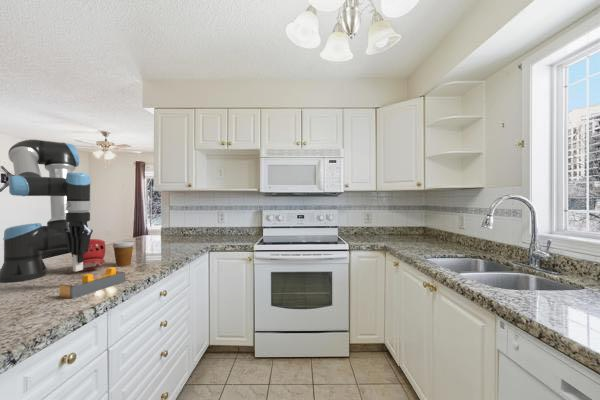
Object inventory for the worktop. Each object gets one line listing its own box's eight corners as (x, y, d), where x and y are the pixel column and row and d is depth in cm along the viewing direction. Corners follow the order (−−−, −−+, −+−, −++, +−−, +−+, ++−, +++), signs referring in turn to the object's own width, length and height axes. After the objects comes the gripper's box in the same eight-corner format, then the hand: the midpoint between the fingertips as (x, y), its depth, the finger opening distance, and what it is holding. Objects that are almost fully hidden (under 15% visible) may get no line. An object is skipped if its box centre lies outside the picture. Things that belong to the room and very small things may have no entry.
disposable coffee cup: (107, 267, 138) (107, 243, 137) (123, 262, 147) (122, 240, 147) (124, 267, 136) (124, 244, 136) (138, 263, 145) (138, 241, 145)
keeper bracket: (59, 296, 96) (59, 285, 96) (113, 280, 115) (113, 270, 115) (72, 298, 94) (72, 287, 94) (125, 281, 113) (125, 272, 113)
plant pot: (113, 262, 133) (111, 239, 137) (84, 262, 121) (83, 237, 125) (94, 271, 136) (93, 249, 140) (65, 272, 124) (64, 247, 128)
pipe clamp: (107, 282, 113) (107, 267, 113) (115, 283, 112) (115, 267, 112) (78, 292, 101) (78, 275, 101) (87, 293, 100) (87, 275, 100)
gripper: (56, 211, 106) (56, 271, 107) (79, 213, 102) (79, 274, 103) (76, 210, 113) (76, 266, 114) (99, 211, 109) (99, 269, 110)
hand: (78, 270), depth 108 cm, fingers closed
